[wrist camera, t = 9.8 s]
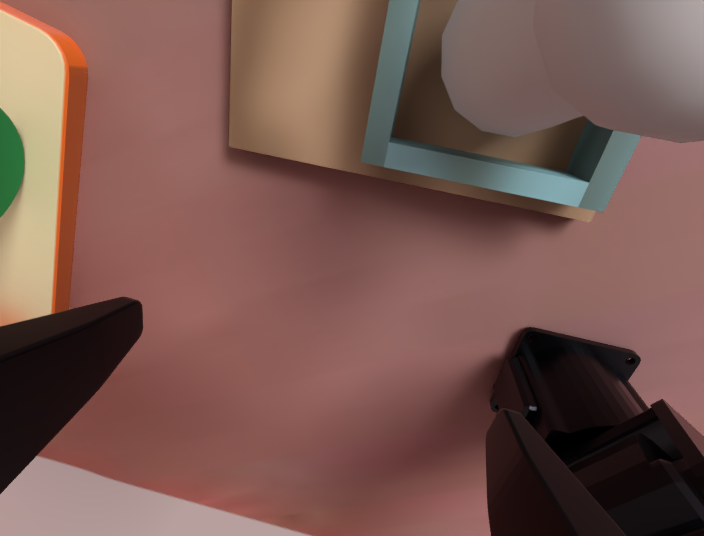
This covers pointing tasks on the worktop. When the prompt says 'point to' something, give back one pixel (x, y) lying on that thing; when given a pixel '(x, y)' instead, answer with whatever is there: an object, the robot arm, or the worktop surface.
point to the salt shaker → (578, 65)
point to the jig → (398, 108)
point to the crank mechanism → (38, 164)
